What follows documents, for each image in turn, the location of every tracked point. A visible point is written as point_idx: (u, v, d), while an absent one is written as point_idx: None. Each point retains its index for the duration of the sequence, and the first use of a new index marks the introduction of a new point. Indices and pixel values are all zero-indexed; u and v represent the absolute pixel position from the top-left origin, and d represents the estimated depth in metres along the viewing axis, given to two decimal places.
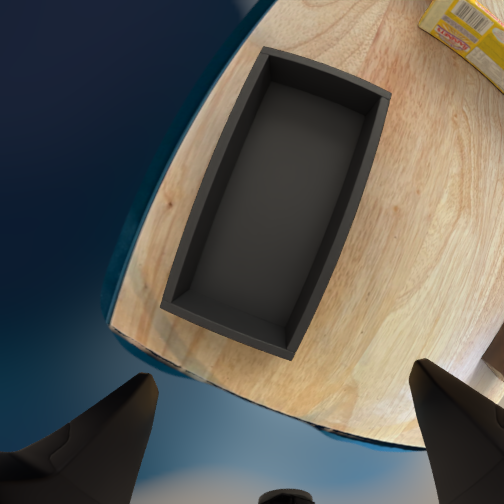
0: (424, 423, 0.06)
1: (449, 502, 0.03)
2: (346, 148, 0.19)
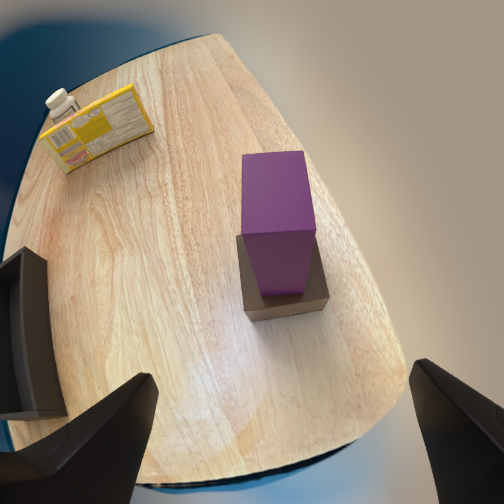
0: (424, 423, 0.06)
1: (448, 502, 0.03)
2: None
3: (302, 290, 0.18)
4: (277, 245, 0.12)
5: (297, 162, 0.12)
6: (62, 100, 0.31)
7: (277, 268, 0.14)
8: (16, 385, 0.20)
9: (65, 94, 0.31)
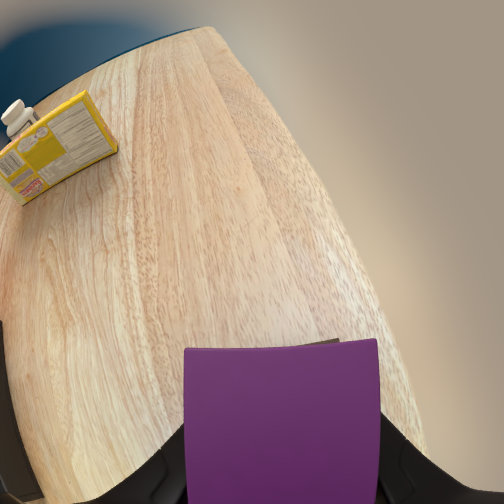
0: None
1: None
2: None
3: None
4: None
5: (357, 393, 0.03)
6: (18, 114, 0.23)
7: None
8: None
9: (21, 106, 0.23)
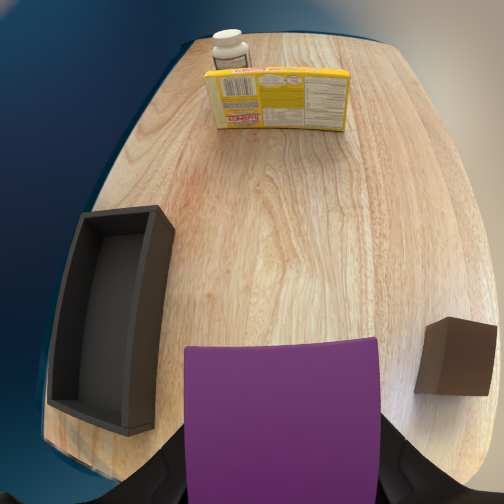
0: None
1: None
2: None
3: None
4: None
5: (357, 391, 0.03)
6: (237, 43, 0.29)
7: None
8: (79, 363, 0.21)
9: (241, 38, 0.29)
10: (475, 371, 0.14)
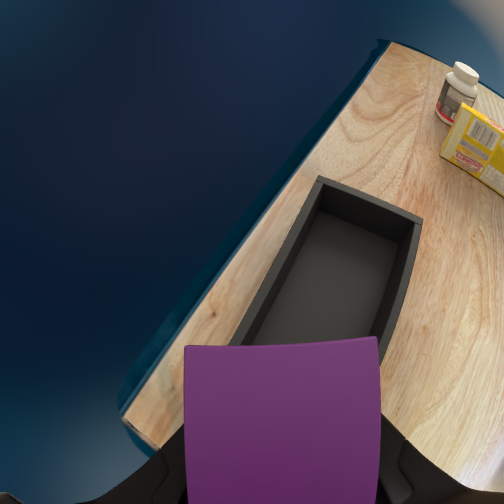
0: None
1: None
2: (382, 274, 0.21)
3: None
4: None
5: (357, 390, 0.03)
6: (473, 84, 0.21)
7: None
8: None
9: (477, 81, 0.21)
10: None
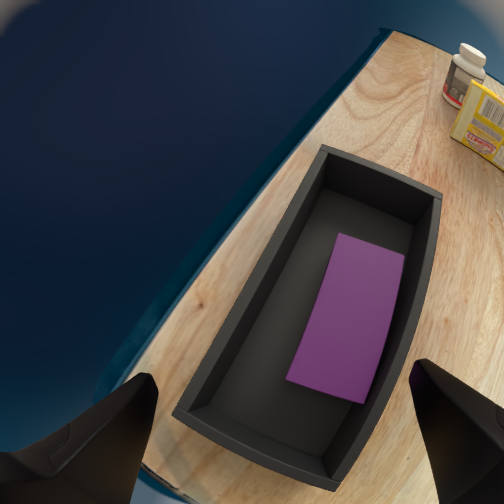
0: (424, 423, 0.06)
1: (449, 502, 0.03)
2: None
3: None
4: None
5: None
6: (481, 65, 0.18)
7: None
8: (237, 354, 0.16)
9: (484, 63, 0.18)
10: None
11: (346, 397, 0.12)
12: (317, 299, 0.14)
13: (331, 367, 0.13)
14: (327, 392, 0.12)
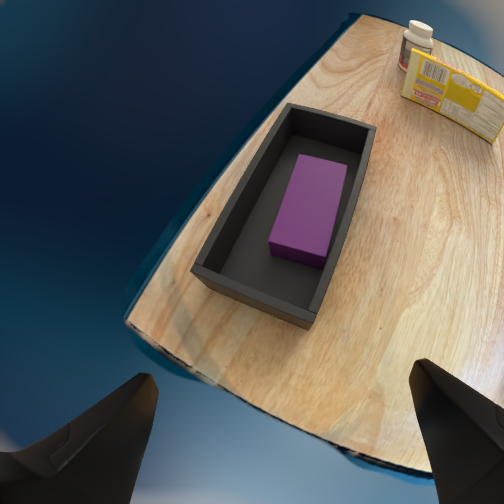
0: (424, 423, 0.06)
1: (449, 502, 0.03)
2: (349, 176, 0.25)
3: None
4: None
5: None
6: (428, 37, 0.25)
7: None
8: (235, 241, 0.24)
9: (431, 34, 0.24)
10: None
11: (312, 251, 0.20)
12: (286, 191, 0.22)
13: (299, 231, 0.21)
14: (298, 248, 0.20)
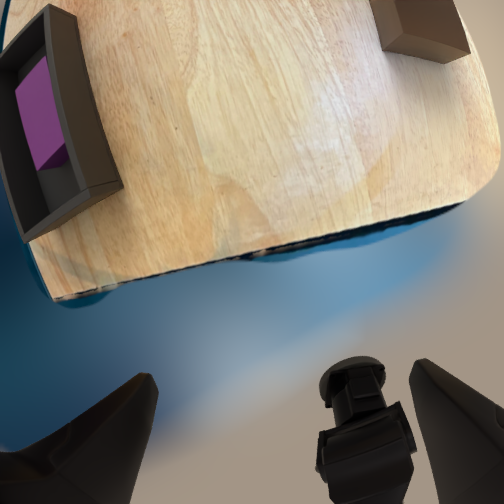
0: (424, 423, 0.06)
1: (448, 502, 0.03)
2: None
3: None
4: None
5: None
6: None
7: None
8: (39, 184, 0.19)
9: None
10: (441, 22, 0.09)
11: (60, 145, 0.15)
12: (23, 126, 0.14)
13: (45, 141, 0.15)
14: (52, 153, 0.15)
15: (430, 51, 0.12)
